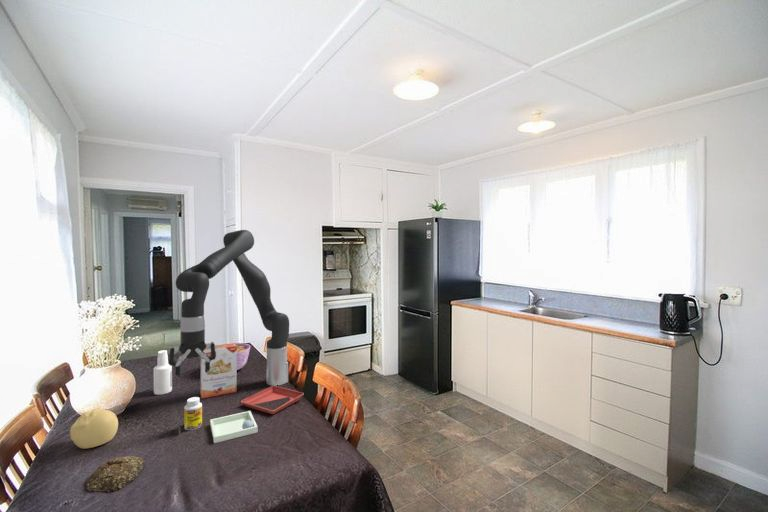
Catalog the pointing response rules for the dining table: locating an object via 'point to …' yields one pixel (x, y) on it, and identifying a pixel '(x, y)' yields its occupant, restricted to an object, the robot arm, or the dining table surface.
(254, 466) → the dining table surface
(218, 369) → the cracker box
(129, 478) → the mottled brown rock
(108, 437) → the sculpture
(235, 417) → the tray
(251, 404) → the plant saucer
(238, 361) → the bowl of food
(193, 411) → the supplement bottle
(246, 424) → the ball
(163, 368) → the spray bottle
